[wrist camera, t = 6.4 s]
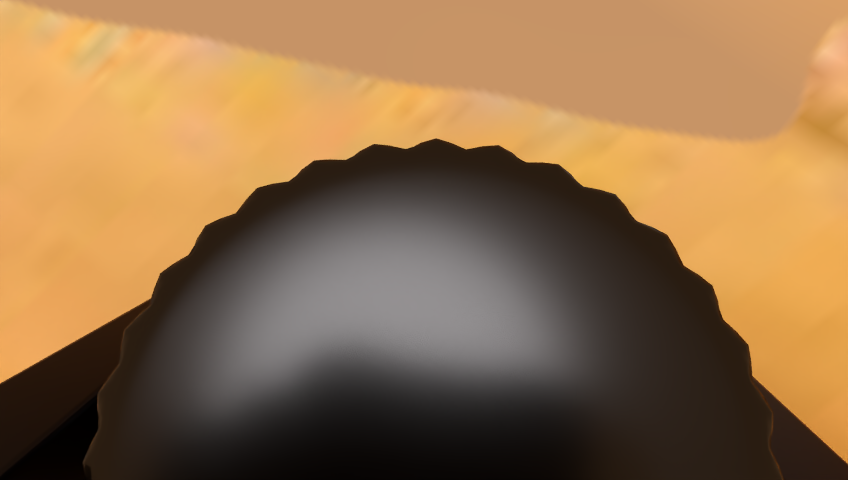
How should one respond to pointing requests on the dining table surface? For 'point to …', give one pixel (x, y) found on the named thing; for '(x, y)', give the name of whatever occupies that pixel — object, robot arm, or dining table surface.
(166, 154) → the dining table surface
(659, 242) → the supplement bottle
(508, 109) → the dining table surface
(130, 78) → the dining table surface
